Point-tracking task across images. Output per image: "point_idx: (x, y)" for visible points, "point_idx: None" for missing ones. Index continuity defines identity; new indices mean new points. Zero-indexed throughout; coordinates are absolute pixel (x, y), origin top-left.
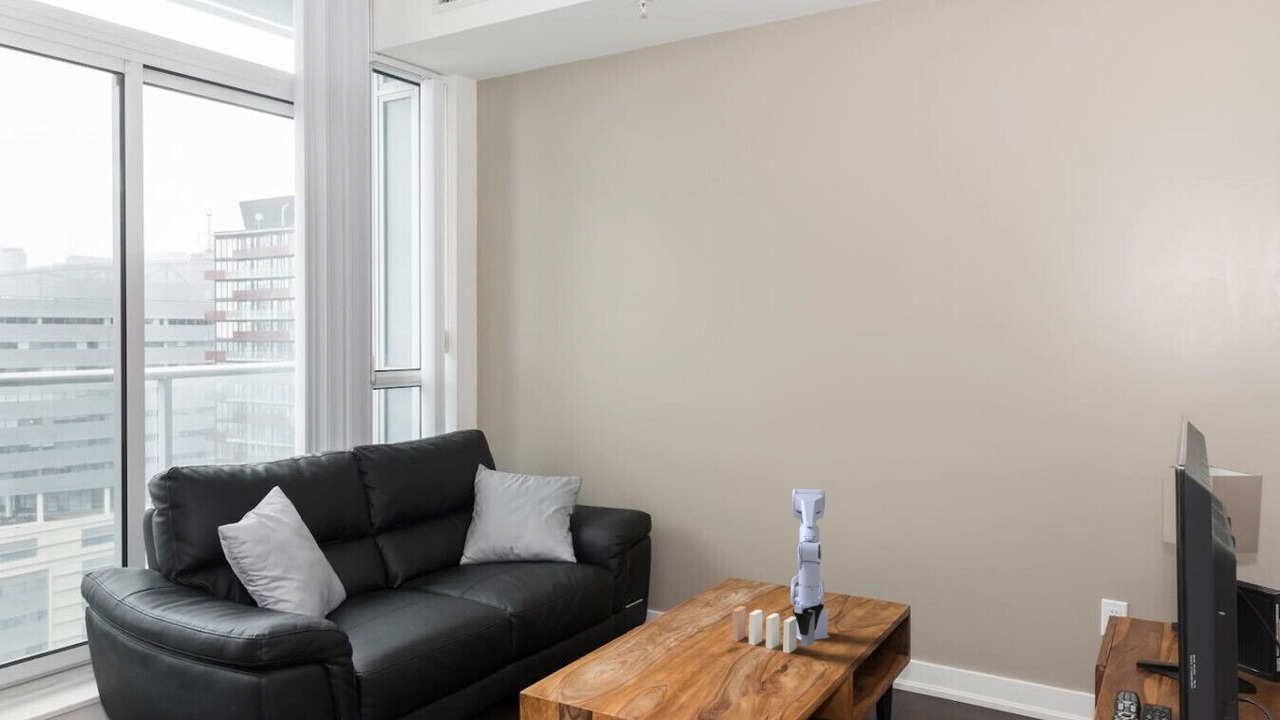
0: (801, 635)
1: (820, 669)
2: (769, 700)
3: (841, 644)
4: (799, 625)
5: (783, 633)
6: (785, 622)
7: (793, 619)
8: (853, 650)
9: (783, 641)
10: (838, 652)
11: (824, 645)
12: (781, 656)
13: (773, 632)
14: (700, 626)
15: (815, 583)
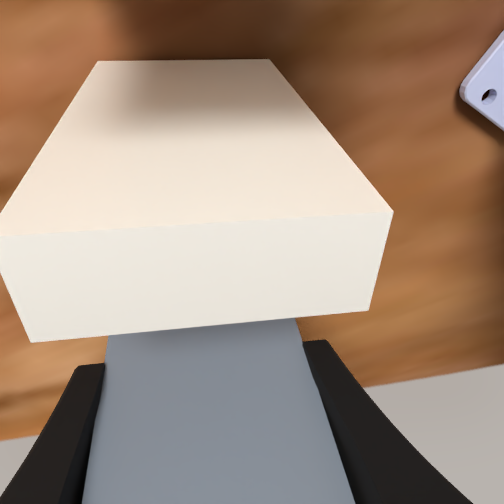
0: (106, 351)
1: (34, 377)
2: None
3: (485, 290)
4: (30, 475)
5: (57, 126)
6: (10, 259)
7: (232, 319)
8: (411, 358)
9: (77, 94)
10: (348, 330)
11: (436, 234)
12: (3, 92)
13: None
14: None
15: None
